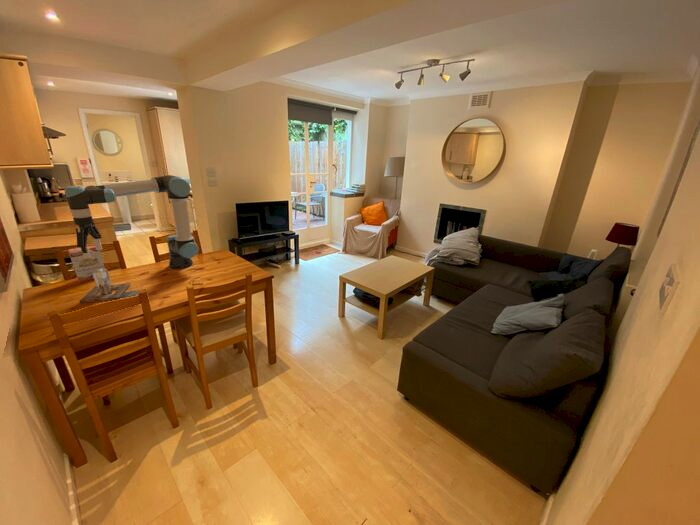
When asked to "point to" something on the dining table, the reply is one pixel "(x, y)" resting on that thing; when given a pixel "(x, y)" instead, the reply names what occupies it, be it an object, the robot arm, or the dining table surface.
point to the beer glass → (102, 281)
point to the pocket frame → (92, 295)
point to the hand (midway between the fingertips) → (93, 253)
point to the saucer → (131, 293)
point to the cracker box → (86, 263)
